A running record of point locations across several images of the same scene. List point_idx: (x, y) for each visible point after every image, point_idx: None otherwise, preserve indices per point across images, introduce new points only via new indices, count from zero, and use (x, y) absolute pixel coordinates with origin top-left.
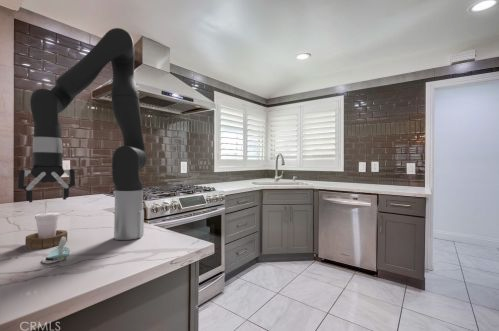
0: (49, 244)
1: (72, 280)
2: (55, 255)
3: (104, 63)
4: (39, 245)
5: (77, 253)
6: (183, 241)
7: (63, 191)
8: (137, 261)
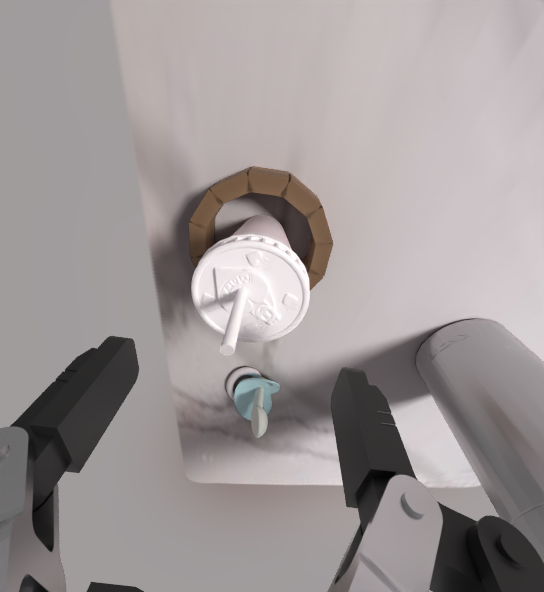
0: None
1: (250, 460)
2: (250, 387)
3: None
4: None
5: (295, 381)
6: None
7: (344, 467)
8: None
